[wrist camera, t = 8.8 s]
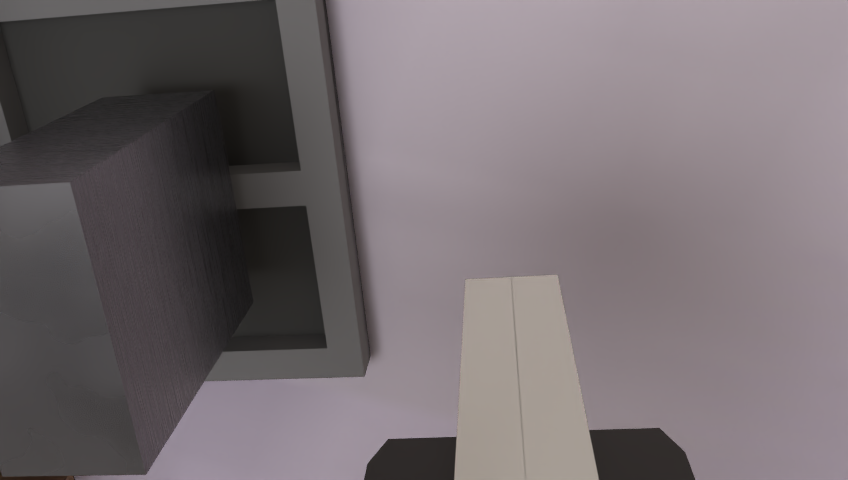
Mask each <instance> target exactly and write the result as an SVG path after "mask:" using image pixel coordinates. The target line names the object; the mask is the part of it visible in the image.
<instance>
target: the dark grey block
mask: <svg viewBox="0 0 848 480" xmlns="http://www.w3.org/2000/svg"><path fill="white" fill-rule="evenodd" d="M253 302H254V301H253V296H252V290H251V285H250V280H249V274H248V269H247V263H246V258H245V252H244V247H243V241H242V236H241V230H240V225H239V219H238V214H237V209H236V203H235V198H234V192H233V187H232V181H231V176H230V170H229V165H228V159H227V154H226V148H225V143H224V138H223V132H222V127H221V121H220V116H219V110H218V105H217V99H216V94H215V90H201V91H187V92H173V93H159V94H145V95H130V96H116V97H102V98H100V99H98V100H96V101H94V102H92V103H90V104H88V105H86V106H83V107H81V108H79V109H77V110H75V111H73V112H71V113H69V114H67V115H65V116H63V117H61V118H58V119H56V120H54V121H52V122H50V123H48V124H46V125H44V126H42V127H40V128H38V129H35V130H33V131H31V132H29V133H27V134H25V135H23V136H21V137H19V138H17V139H15V140H13V141H10V142H8V143H6V144H4V145H2V146H0V471H1V474H2V477H19V476H83V475H146V474H147V472H148V471H149V469H150V467H151V466H152V464H153V463H154V461H155V459H156V458H157V456H158V455H159V453H160V451H161V450H162V448H163V447H164V445H165V443H166V442H167V440H168V439H169V437H170V435H171V434H172V432H173V431H174V429H175V427H176V426H177V424H178V423H179V421H180V419H181V418H182V416H183V415H184V413H185V411H186V410H187V408H188V407H189V405H190V403H191V402H192V400H193V399H194V397H195V395H196V394H197V392H198V391H199V389H200V387H201V386H202V384H203V383H204V381H205V379H206V378H207V376H208V375H209V373H210V371H211V370H212V368H213V367H214V365H215V363H216V362H217V360H218V359H219V357H220V355H221V354H222V352H223V350H224V349H225V347H226V346H227V344H228V342H229V341H230V339H231V338H232V336H233V334H234V333H235V331H236V330H237V328H238V326H239V325H240V323H241V322H242V320H243V318H244V317H245V315H246V314H247V312H248V310H249V309H250V307H251V306H252V304H253Z"/></svg>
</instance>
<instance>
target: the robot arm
mask: <svg viewBox="0 0 848 480" xmlns="http://www.w3.org/2000/svg"><path fill="white" fill-rule="evenodd" d="M364 480H695V478H694V475H693V472H692V470H691V467H690V464H689V462H688V459H687V456H686V454H685V452H684V451H683V450H682V449H681V448H680V447H679V446H678V445H677V444H676V443H675V442H674V441H672V440H671V439H670V438H669V437H668V436H667V435H666V434H665V433H664V432H663V431H662V430H661V429H660V428H646V429H613V430H589V428H588V423H587V418H586V413H585V408H584V403H583V398H582V393H581V388H580V383H579V379H578V374H577V369H576V364H575V359H574V354H573V349H572V344H571V339H570V334H569V329H568V324H567V319H566V314H565V309H564V304H563V299H562V294H561V289H560V284H559V280H558V275H542V276H521V277H501V278H481V279H465V295H464V313H463V331H462V349H461V367H460V385H459V403H458V421H457V437H441V438H408V439H388V440H387V441H386V442H385V444H384V445H383V446H382V447H381V448H380V450H379V451H378V452H377V453H376V454H375V456H374V457H373V458H372V459H371V460H370V462H369V463H368V464H367V469H366V474H365V478H364Z"/></svg>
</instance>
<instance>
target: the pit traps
mask: <svg viewBox="0 0 848 480" xmlns="http://www.w3.org/2000/svg"><path fill="white" fill-rule="evenodd" d="M201 90H215V94H216V99H217V105H218V110H219V116H220V121H221V127H222V132H223V138H224V143H225V148H226V154H227V159H228V165H229V170H230V176H231V181H232V187H233V192H234V198H235V203H236V209H237V214H238V219H239V225H240V230H241V236H242V241H243V247H244V252H245V258H246V263H247V269H248V274H249V280H250V285H251V290H252V296H253V301H254V302H253V304H252V306H251V307H250V309H249V310H248V312H247V314H246V315H245V317H244V318H243V320H242V322H241V323H240V325H239V326H238V328H237V330H236V331H235V333H234V334H233V336H232V338H231V339H230V341H229V342H228V344H227V346H226V347H225V349H224V350H223V352H222V354H221V355H220V357H219V359H218V360H217V362H216V363H215V365H214V367H213V368H212V370H211V371H210V373H209V375H208V376H207V378H206V379H205V381H228V380H263V379H298V378H332V377H365V373H366V370H367V366H368V363H369V359H370V349H369V341H368V333H367V325H366V317H365V310H364V302H363V294H362V286H361V278H360V270H359V262H358V255H357V247H356V239H355V231H354V223H353V215H352V207H351V199H350V192H349V184H348V176H347V168H346V160H345V152H344V144H343V137H342V129H341V121H340V113H339V105H338V97H337V89H336V81H335V74H334V66H333V58H332V50H331V42H330V34H329V26H328V18H327V11H326V3H325V0H0V146H2V145H4V144H6V143H8V142H10V141H13V140H15V139H17V138H19V137H21V136H23V135H25V134H27V133H29V132H31V131H33V130H35V129H38V128H40V127H42V126H44V125H46V124H48V123H50V122H52V121H54V120H56V119H58V118H61V117H63V116H65V115H67V114H69V113H71V112H73V111H75V110H77V109H79V108H81V107H83V106H86V105H88V104H90V103H92V102H94V101H96V100H98V99H100V98H102V97H116V96H130V95H145V94H159V93H173V92H187V91H201Z"/></svg>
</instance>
